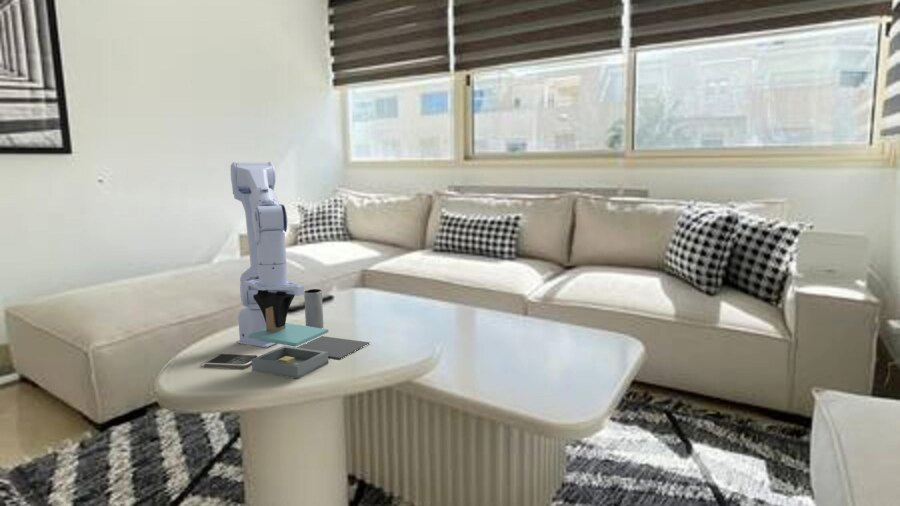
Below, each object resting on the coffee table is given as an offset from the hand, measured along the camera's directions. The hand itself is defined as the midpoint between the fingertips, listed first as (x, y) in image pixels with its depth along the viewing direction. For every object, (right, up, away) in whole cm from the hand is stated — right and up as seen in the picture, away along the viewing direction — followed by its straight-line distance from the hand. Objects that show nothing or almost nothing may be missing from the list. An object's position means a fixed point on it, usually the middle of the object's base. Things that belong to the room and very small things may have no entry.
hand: (275, 325), depth 117 cm
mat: (+9, -7, +12) cm, 17 cm away
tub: (+3, -9, 0) cm, 9 cm away
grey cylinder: (+1, -5, +29) cm, 29 cm away
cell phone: (-11, -9, +3) cm, 14 cm away
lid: (+3, -2, -1) cm, 4 cm away
